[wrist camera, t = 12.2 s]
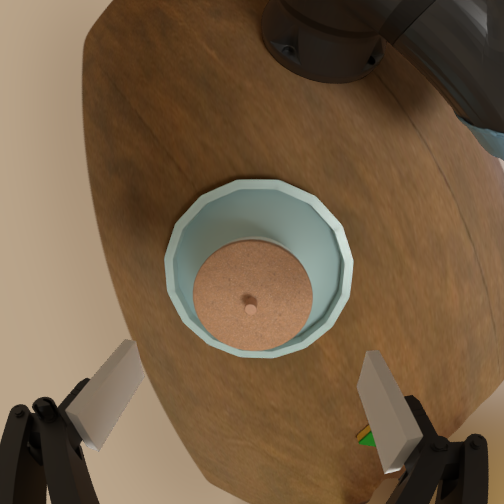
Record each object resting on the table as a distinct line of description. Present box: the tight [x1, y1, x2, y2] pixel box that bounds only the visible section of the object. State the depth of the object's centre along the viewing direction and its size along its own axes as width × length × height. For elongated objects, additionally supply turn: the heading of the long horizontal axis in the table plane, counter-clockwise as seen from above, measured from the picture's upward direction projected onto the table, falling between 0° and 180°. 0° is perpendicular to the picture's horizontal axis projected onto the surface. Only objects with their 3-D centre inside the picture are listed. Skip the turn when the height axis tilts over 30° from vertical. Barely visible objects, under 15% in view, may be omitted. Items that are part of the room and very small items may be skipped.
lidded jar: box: [193, 236, 313, 351], centre depth 27 cm, size 11×11×9 cm
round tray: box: [164, 180, 353, 358], centre depth 31 cm, size 21×21×2 cm
